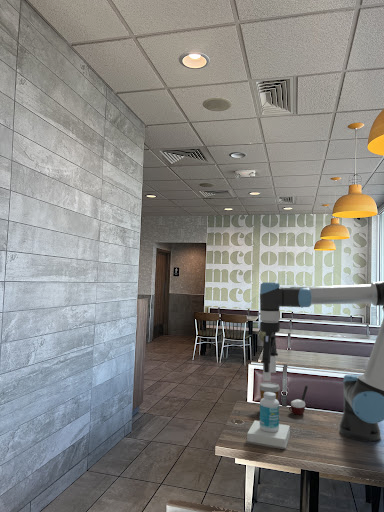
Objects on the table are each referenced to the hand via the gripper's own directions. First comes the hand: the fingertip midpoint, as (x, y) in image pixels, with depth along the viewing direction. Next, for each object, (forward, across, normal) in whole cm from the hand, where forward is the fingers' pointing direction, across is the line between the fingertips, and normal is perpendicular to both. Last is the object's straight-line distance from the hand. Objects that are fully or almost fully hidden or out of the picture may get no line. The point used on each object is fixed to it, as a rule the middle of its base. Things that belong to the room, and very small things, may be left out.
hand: (269, 376), depth 147 cm
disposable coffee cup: (+24, -31, -5) cm, 39 cm away
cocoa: (+24, -33, +8) cm, 41 cm away
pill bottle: (+20, 0, 0) cm, 20 cm away
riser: (+24, 0, 0) cm, 24 cm away
